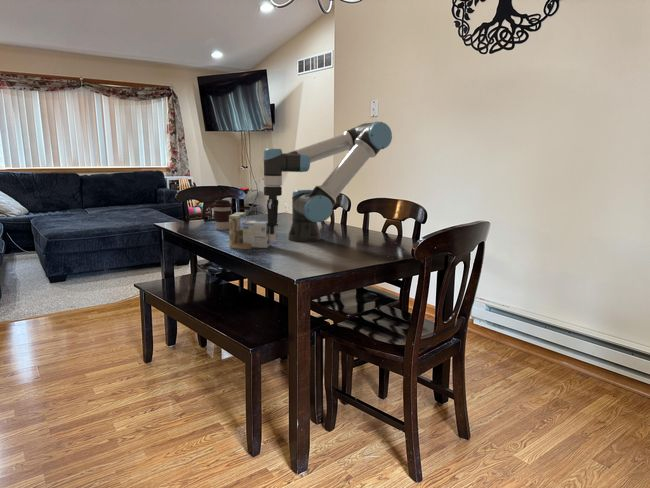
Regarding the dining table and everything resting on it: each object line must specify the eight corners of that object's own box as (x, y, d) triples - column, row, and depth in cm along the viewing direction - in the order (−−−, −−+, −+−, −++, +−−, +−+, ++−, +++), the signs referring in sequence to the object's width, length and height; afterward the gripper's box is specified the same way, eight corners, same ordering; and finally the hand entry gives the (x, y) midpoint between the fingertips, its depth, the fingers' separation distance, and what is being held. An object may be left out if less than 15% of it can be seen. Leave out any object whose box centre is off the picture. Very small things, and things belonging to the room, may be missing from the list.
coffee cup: (209, 228, 238) (208, 200, 235) (226, 226, 245) (225, 199, 242) (219, 231, 231) (218, 201, 228) (236, 229, 237) (235, 200, 234)
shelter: (237, 242, 203) (237, 212, 201) (257, 243, 202) (257, 212, 200) (229, 247, 192) (228, 215, 189) (250, 248, 191) (250, 216, 188)
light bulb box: (271, 245, 199) (270, 220, 196) (266, 248, 192) (266, 223, 190) (247, 244, 200) (247, 219, 198) (242, 247, 194) (242, 222, 191)
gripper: (267, 184, 197) (267, 238, 202) (260, 186, 184) (260, 243, 189) (284, 185, 197) (284, 238, 201) (278, 187, 184) (278, 244, 188)
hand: (272, 241), depth 195 cm, fingers closed
